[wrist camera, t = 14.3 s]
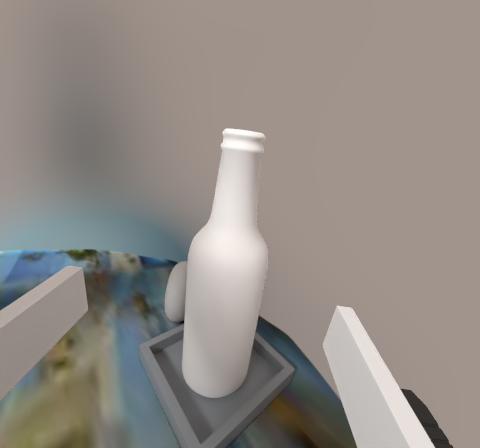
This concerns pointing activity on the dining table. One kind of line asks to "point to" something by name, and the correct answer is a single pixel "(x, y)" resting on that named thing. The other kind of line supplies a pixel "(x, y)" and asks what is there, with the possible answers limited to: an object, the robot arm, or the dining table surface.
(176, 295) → the donut
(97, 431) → the dining table surface
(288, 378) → the tray
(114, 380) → the dining table surface
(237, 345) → the alcohol
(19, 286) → the dining table surface
